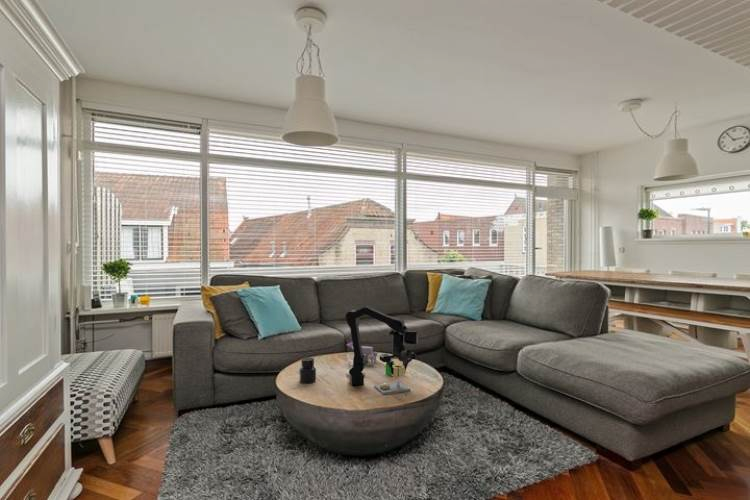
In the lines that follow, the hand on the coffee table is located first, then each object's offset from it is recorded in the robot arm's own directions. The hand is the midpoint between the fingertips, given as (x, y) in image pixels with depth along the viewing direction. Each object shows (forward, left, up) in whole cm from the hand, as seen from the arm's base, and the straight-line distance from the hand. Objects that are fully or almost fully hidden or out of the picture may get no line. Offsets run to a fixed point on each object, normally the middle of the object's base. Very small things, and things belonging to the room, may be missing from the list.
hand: (397, 373), depth 213 cm
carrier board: (-3, 0, -8) cm, 8 cm away
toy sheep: (-2, +50, -8) cm, 50 cm away
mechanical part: (+10, +23, -8) cm, 27 cm away
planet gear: (0, 0, -1) cm, 1 cm away
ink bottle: (-41, +29, -8) cm, 51 cm away
